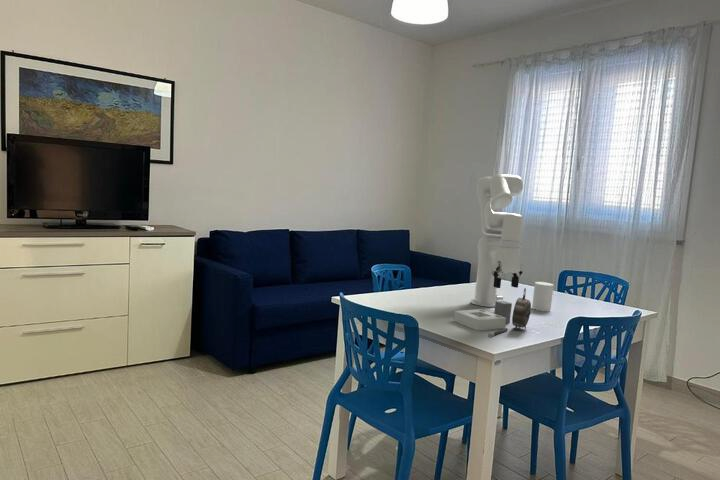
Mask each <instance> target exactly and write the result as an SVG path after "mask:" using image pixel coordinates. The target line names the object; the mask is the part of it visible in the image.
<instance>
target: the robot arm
mask: <svg viewBox="0 0 720 480" xmlns="http://www.w3.org/2000/svg"><path fill="white" fill-rule="evenodd" d="M522 179H523V178H522V177H521V176H519V175H516V174H504V173H502V174H501V173H497V174H494V175H492V176H484V177H480V178H479V179H478V180H477V184H476V196H477V199H478V202H479V206H480V227H481V228H480V229H481V232H482V233H483V234H485V235H486V236H485V235H484V236H482V237H480V238H479V240H478V242H477V251H478V255H477V257H478V259H477V272H476V283H475V293H474V298H472V299H470V303H471V304H473V305H476V306H479V307H486V308H488V307H489V308H495V302H496V301H504V300H503V299H504V296H503V295H498V294H497V290H498V289H500V288H501V287H502V286H501V285H502V275H503V274H512V276H511V284H510V287H511V288H516V289H517V288H519V282H520V281H519V280H520V278H521V275H522V274H523V271H524V270H525V266H524V265H522V264H521V260H522V259H521V249H520V247H521V244H522V243H521V241H522V240H521V239H522V230H523V229H522V228H523V221H524V220H523V216H522V215H521V214H518V213H514V212H504V211H503V212H502V211H501V212H500V210H503V209H505V208H507V207H509V206H510V205H511V204H512V202H513V199H514V198H513V197H514V196H515V197H516V196H517V195H520V194H521V193H522V191H523V187H524V184H523V183H524V182H523V180H522Z"/></svg>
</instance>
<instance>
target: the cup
mask: <svg viewBox="0 0 720 480" xmlns="http://www.w3.org/2000/svg"><path fill="white" fill-rule="evenodd" d="M554 286H555V285H554V284H553V283H550V282H545V281H534V288H533V294H532V295H533V297H532V303H531V309H533V310H535V309H536V310H535V311H539V310H541V311H540V312H550V310H551V309H552V303H553V302H552V301H553V294H554V293H553V292H554Z"/></svg>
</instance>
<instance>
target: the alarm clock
mask: <svg viewBox="0 0 720 480" xmlns="http://www.w3.org/2000/svg"><path fill="white" fill-rule="evenodd" d="M526 292H527V288H526V287H524V288H523V293H524V294H523V295H522V297H518V298H517V300H516V301H515V304H514V307H513V312H512V316H511V317H512V319H511V323H512V325H513V327H514V326H515V327H514V332H516V331H517V329H518V327H519V328H524V329H525V330H527V328H526V327H527V325H528V323H529V319H530V316H531V314H532V312H531V310H532V303H531V300H529V299H527V298H526Z"/></svg>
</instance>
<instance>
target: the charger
mask: <svg viewBox="0 0 720 480" xmlns="http://www.w3.org/2000/svg"><path fill="white" fill-rule="evenodd" d="M512 304H513V303H512V302H508V301H505V300H498V301H496V302H495V307H494V312H493V313H494V314H496V315H499V316H502V317H505V318H506V324H510V323H511V317H512V316H511V314H512V306H513V305H512Z"/></svg>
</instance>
